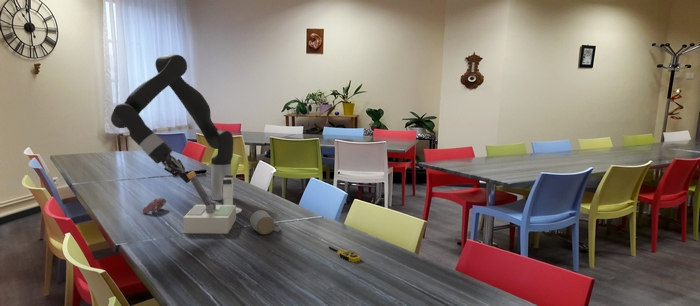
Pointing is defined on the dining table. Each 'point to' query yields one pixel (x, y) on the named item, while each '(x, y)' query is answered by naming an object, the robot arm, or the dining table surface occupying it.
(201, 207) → the switch box
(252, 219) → the ceramic mug
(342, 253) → the yellow walkie-talkie
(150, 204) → the video game controller
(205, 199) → the lever
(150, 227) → the dining table surface
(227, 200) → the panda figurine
